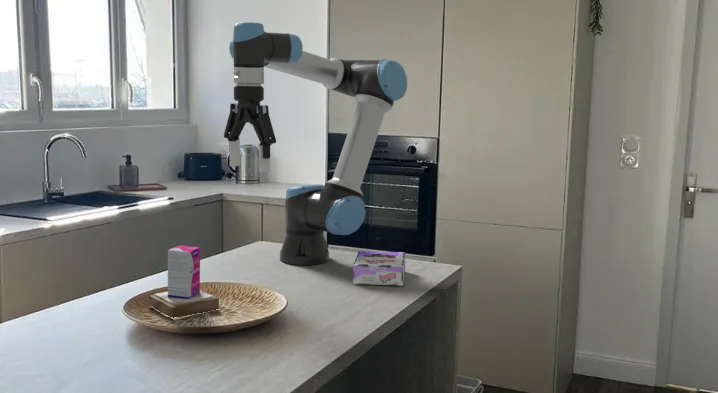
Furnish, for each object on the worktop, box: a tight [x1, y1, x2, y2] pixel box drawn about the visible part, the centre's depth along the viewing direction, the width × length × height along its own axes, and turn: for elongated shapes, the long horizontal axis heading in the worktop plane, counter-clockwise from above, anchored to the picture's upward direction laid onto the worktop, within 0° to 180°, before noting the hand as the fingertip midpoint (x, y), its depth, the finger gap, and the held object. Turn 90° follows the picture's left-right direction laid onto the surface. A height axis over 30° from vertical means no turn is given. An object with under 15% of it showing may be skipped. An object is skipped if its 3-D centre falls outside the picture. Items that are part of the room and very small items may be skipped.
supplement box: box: [167, 245, 201, 299], centre depth 170 cm, size 6×6×12 cm
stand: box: [148, 289, 220, 318], centre depth 171 cm, size 12×12×3 cm
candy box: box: [352, 250, 406, 287], centre depth 201 cm, size 14×6×16 cm
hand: (249, 168), depth 185 cm, fingers open, 13 cm apart
